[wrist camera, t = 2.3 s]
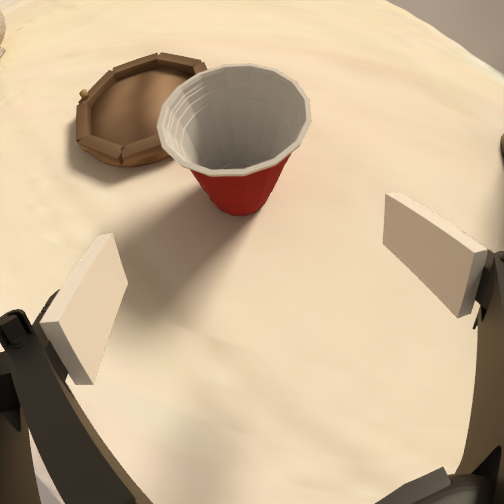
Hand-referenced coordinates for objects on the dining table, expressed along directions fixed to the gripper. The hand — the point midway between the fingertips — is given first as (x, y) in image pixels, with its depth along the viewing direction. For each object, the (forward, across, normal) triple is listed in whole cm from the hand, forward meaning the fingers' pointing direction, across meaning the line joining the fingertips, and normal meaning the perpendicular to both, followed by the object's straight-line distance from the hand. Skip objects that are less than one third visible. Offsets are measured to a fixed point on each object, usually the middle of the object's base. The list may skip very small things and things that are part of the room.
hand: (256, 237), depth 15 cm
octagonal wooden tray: (+27, -9, +7) cm, 30 cm away
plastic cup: (+18, 0, -3) cm, 18 cm away
